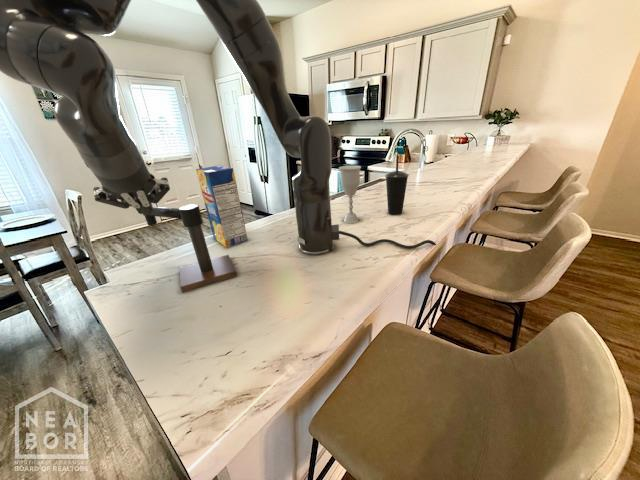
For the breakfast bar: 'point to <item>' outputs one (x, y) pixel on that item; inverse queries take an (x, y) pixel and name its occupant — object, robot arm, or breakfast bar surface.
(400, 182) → the drinking cup
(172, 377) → the breakfast bar surface
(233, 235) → the blue and yellow box
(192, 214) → the spout
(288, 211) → the breakfast bar surface
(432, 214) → the breakfast bar surface
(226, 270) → the base
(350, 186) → the chalice
